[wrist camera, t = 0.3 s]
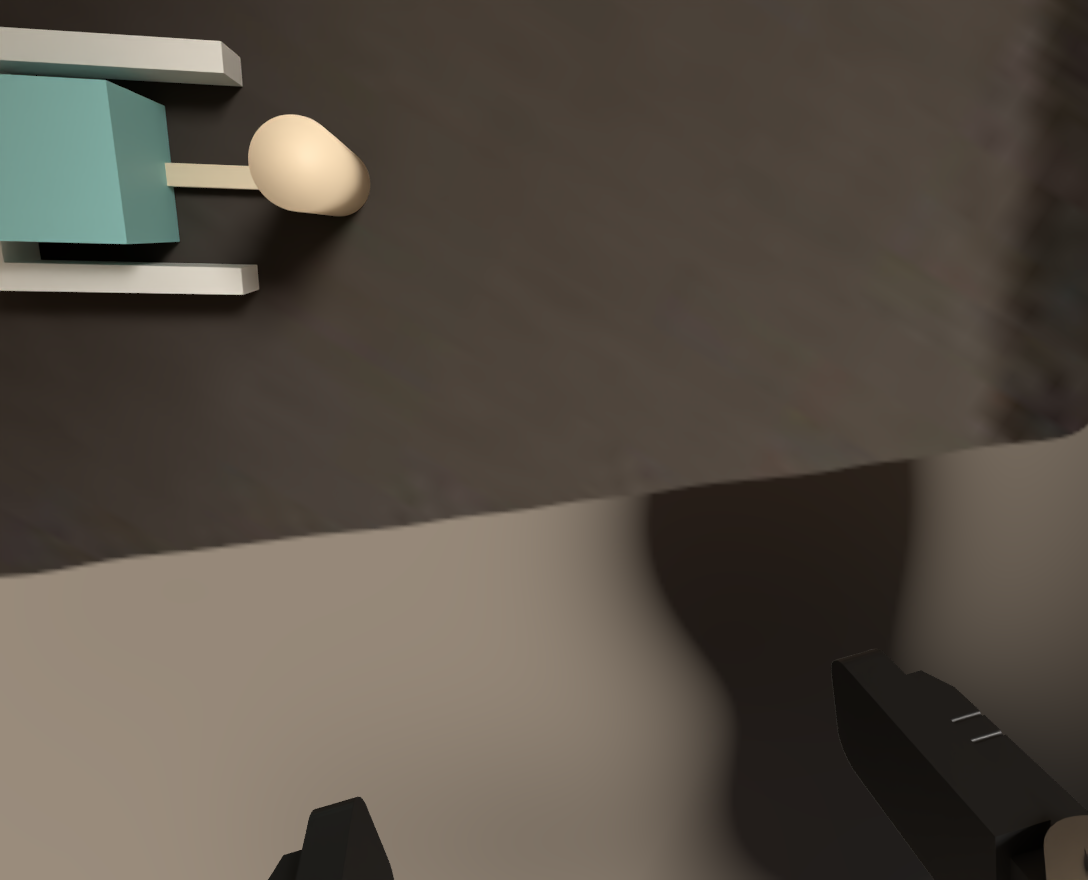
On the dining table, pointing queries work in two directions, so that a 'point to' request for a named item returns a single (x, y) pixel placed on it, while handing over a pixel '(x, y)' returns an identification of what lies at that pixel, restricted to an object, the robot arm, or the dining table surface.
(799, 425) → the dining table surface
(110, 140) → the tethered block
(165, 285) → the cream u-shaped frame
